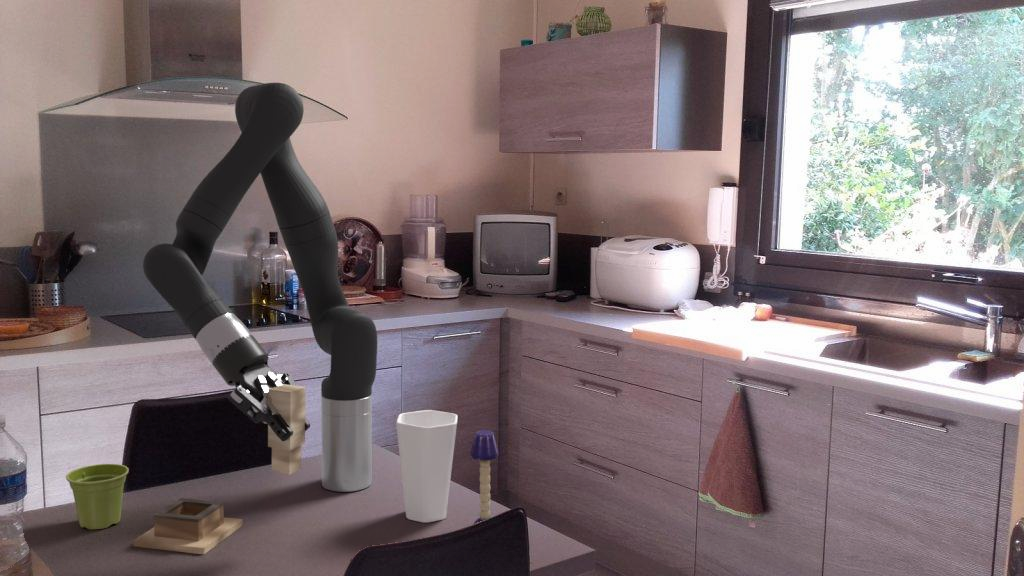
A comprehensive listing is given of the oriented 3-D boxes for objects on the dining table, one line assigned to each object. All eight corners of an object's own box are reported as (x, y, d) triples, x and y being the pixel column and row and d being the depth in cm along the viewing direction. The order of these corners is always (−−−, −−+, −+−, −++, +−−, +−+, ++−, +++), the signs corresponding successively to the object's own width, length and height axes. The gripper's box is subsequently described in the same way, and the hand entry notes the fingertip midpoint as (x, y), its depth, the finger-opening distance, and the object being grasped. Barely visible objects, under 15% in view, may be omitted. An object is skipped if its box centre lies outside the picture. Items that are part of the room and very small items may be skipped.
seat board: (177, 518, 151) (176, 492, 151) (242, 525, 149) (242, 498, 148) (133, 546, 140) (132, 518, 139) (204, 554, 137) (203, 526, 137)
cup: (469, 511, 157) (471, 416, 155) (437, 531, 148) (438, 430, 146) (416, 499, 162) (416, 407, 160) (382, 518, 153) (382, 420, 151)
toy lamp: (493, 536, 146) (495, 437, 144) (466, 534, 147) (467, 434, 145) (500, 525, 151) (502, 429, 149) (473, 523, 152) (474, 426, 150)
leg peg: (283, 464, 142) (283, 384, 141) (304, 468, 141) (305, 386, 140) (267, 471, 139) (268, 389, 137) (290, 475, 137) (290, 392, 136)
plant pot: (65, 537, 143) (63, 484, 142) (70, 516, 151) (68, 466, 150) (129, 530, 146) (128, 478, 145) (131, 510, 155) (129, 461, 154)
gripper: (216, 340, 133) (285, 430, 131) (273, 327, 147) (337, 409, 144) (187, 372, 136) (254, 461, 133) (246, 356, 149) (308, 437, 146)
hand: (297, 433), depth 139 cm, fingers closed on leg peg, 4 cm apart
